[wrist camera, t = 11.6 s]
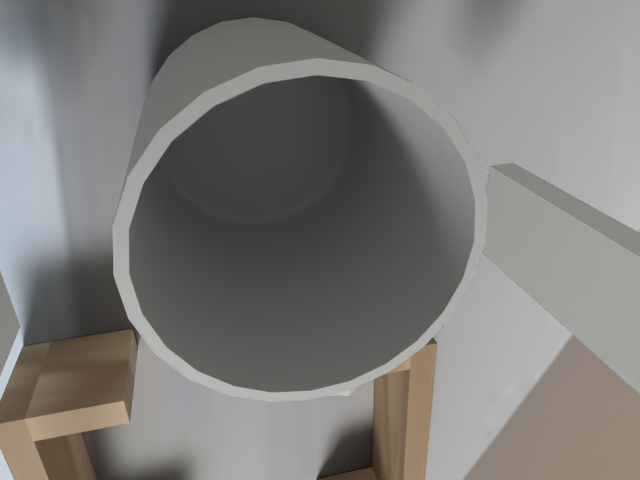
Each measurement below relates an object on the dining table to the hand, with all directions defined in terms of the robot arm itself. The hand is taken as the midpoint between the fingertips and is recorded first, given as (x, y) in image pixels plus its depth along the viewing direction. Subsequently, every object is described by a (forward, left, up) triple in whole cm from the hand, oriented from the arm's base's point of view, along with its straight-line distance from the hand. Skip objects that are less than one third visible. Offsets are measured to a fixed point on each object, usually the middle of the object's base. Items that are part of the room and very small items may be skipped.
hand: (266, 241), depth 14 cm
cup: (+1, 0, -5) cm, 5 cm away
